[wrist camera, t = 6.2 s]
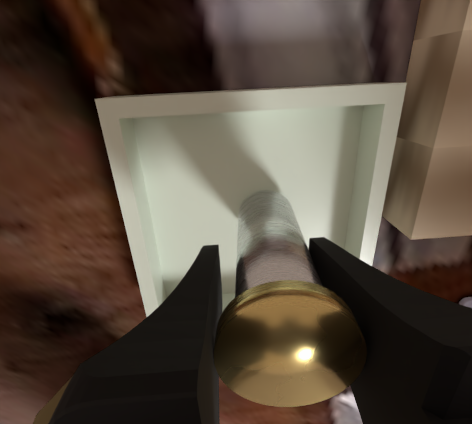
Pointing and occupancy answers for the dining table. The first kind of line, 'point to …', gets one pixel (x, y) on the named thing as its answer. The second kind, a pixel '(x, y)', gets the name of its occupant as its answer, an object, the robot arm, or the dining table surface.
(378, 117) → the tray
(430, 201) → the hitch block
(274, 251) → the pin
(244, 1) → the dining table surface
